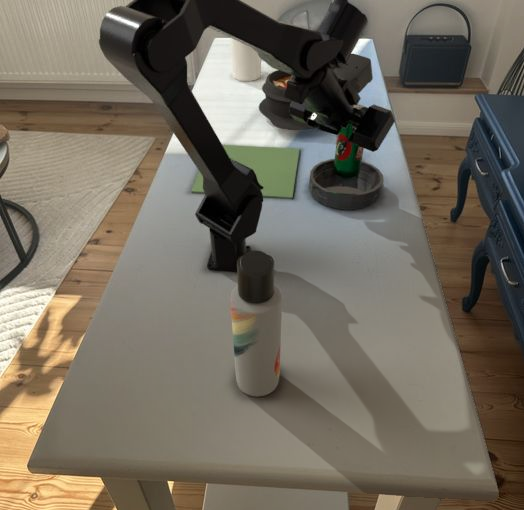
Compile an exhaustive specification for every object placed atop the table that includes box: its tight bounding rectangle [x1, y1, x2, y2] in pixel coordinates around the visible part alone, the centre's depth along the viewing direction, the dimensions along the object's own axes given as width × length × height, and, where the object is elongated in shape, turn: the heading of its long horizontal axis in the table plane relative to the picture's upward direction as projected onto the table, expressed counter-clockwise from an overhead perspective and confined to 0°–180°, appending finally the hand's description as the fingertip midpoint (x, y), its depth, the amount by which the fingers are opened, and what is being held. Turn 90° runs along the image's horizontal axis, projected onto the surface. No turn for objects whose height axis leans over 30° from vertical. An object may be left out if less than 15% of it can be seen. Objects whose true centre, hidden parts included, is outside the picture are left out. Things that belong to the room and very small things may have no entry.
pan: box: [308, 158, 384, 210], centre depth 94 cm, size 14×14×3 cm
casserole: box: [258, 69, 316, 131], centre depth 115 cm, size 25×19×8 cm
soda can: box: [333, 103, 366, 179], centre depth 88 cm, size 5×5×12 cm
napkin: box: [190, 144, 301, 199], centre depth 101 cm, size 20×20×1 cm
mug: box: [229, 37, 262, 82], centre depth 133 cm, size 12×8×10 cm
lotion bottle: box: [230, 250, 283, 397], centre depth 56 cm, size 6×6×20 cm
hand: (355, 138), depth 88 cm, fingers closed on soda can, 5 cm apart
